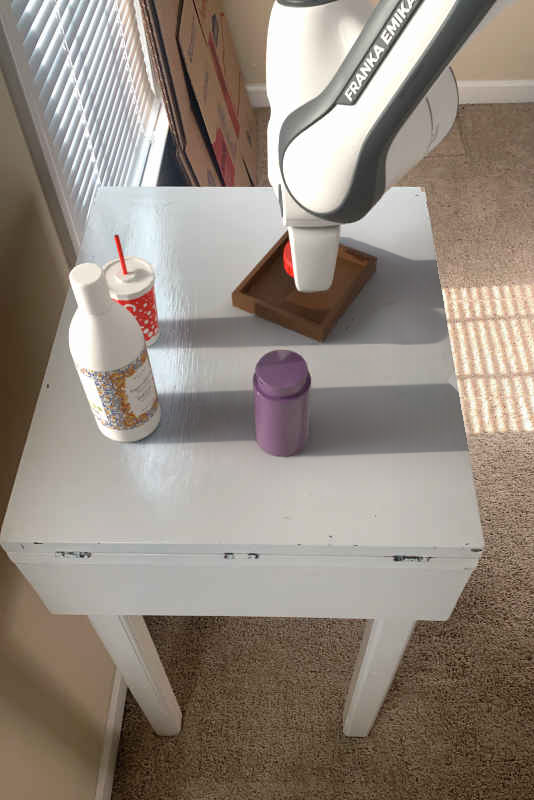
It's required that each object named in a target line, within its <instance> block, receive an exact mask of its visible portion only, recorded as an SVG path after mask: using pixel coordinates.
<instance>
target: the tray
mask: <svg viewBox="0 0 534 800" xmlns="http://www.w3.org/2000/svg"><path fill="white" fill-rule="evenodd" d="M289 241H290V238H289V231H288V229H287V230H286V231H285V232H284V233H283V234H282V235H281V237H280V238H279V239H278V240H277V241H276V242H275V243H274V244H273V245H272V247H271V248H270V249H269V250H268V252H267V253H266V254H265V255H264V256H263V257H262V258H261V259H260V261H259V262H258V263H257V264H256V265H255V266H254V267H253V268H252V269H251V270H250V272H249V273H248V274H247V275H246V276H245V277H244V278H243V279H242V281H241V282H240V283H239V285H238V286H236V288H234V290H233V291H232V292H231V304H232V305H231V306H232V307H235V308H236V309H240V310H242V311H244V312H247V313H249V314H252V315H254V316H256V317H258V318H262V319H264V320H266V321H268V322H271V323H273V324H275V325H278V326H281V327H283V328H286V329H289V330H290V331H293V332H295V333H297V334H299V335H303V336H304V337H307V338H310V339H312V340H314V341H316V342H319V343H320V344H321V343H323V342H324V341H325V339H326V338H327V337H328V335H330V333H331V332H332V330H333V328H334V327H335V326H336V325H337V323H338V322H339V321H340V319H341V318H342V316H343V315H344V313H346V311H347V310H348V308H350V306H351V304H352V303H353V301H354V300H355V299H356V298H357V296H358V295H359V293H360V292H361V291H362V290H363V288H364V287H365V286H366V284H367V283H368V282H369V280H370V279H371V277H372V276H373V275H374V273H375V272H376V270H377V265H378V257H377V256H374V255H372V254H369V253H366V252H364V251H361V250H358V249H355V248H352V247H351V246H348V245H345V244H342V243H339V246H338V253H337V259H336V265H335V270H334V276H333V281H332V284H331V286H330V288H329V289H328V290H326V291H318V292H312V293H304V292H300V291H298V289H297V287H296V284H295V278H293V277H292V276H290V275H289V274H288V273H287V271H286V270H285V268H284V261H283V257H284V249H285V246H286V244H287V243H288V242H289Z"/></svg>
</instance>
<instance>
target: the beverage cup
mask: <svg viewBox="0 0 534 800" xmlns="http://www.w3.org/2000/svg"><path fill="white" fill-rule="evenodd" d="M120 239H121V238H120V235H119V234H114V241H115V245H116V249H117V253H118V254H117V255H118V257H117V258H113V259H111V260H110V261H108V262H106V263H104V265H102V266H101V268H102V269H103V271H104V273H105V277H106V281H107V284H108V288H109V292H110V295H111V299H113V300H114V301H116V302H118V303H119V304H121V305H122V306H123V307H125V308H126V309H127V310H128V311H129V312H130V313H131V314H132V315H133V316H134V317H135V319H136V320H137V322H138V324H139V325H140V328H141V330H142V332H143V335H144V339H145V343H146V347H147V348H149V347H151V346H153V345H154V344H155V343H157V341H158V340H159V338H160V333H161V331H160V323H159V314H158V307H157V299H156V298H157V297H156V291H155V282H156V276H155V275H156V273H155V270H154V266H153V265H152V264H151V263H150V262H149V261H148V260H146V259H144V258H141V257H138V256H134V255H133V256H128V255H127V256H126V255H125V256H124V252H123V247H122V243H121V240H120Z"/></svg>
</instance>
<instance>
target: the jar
mask: <svg viewBox="0 0 534 800" xmlns="http://www.w3.org/2000/svg"><path fill="white" fill-rule="evenodd" d="M254 370H255V371H254V372H253V375H252V393H253V394H252V395H253V410H254V411H253V412H254V430H255V432H254V433H255V440H256V443H257V445H258V447H259V448H260V449H261V450H262V451H263V452H265V453H267V454H268V455H270V456H274V457H280V458H281V457H283V458H284V457H290V456H293V455H295V454H298V453H300V451H301V450H303V449H304V448H305V446H306V445H307V443H308V440H309V432H310V431H309V430H310V411H311V397H312V396H311V395H312V375H311V372H310V371H309V367H308V363H307V362H306V360H305V358H304V357H303V356H302V355H300V354H299V353H297V352H295V351H293V350H290V349H274V350H271V351H268V352H267V353H265V354H264V355H262V357H260V359H259V360H258V361H257V363H256V365H255V368H254Z"/></svg>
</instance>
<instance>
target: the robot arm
mask: <svg viewBox="0 0 534 800" xmlns="http://www.w3.org/2000/svg"><path fill="white" fill-rule="evenodd" d="M517 1H518V0H379V1H378V2H377V5H376V7H374V6H373V4H372V3H371V1H370V0H274V2H273V6H272V9H271V12H270V16H269V22H268V26H267V27H268V29H267V37H266V58H265V74H266V75H265V80H266V84H265V85H266V95H267V98H268V103H269V105H270V118H269V120H268V124H267V132H266V133H267V177H268V181H269V184H270V185H271V186H272V187H273V188H272V189H273V191H274V193H275V196H276V198H277V200H278V205H279V209H280V215H281V218H282V224H283V226H284V227H287V230H288V231H289V238H290V245H291V254H292V262H293V271H294V278H295V284H296V287H297V289H298V291H300V292H304V293H312V292H318V291H326V290H328V289H329V288H330V286H331V284H332V281H333V276H334V270H335V265H336V259H337V253H338V246H339V244H340V239H341V238H340V237H341V226H342V225H347V224H353V223H357V222H359V221H361V220H362V219H364V218H365V217H366V216H367V215H368V213H370V212H371V210H372V209H373V208H374V207H375V206H376V205H377V204H378V203H379V201H380V200H381V199H382V198H383V196H384V195H385V194H386V193H387V192H388V191H390V189H391V188H393V187H394V186H395V185H396V184H397V183H398V182H400V180H401V179H402V178H404V177H405V176H406V175H407V174H408V173H409V172H411V170H412V169H414V168H415V167H416V166H417V165H418V164H419V163H420V162H421V161H422V160H424V159H425V157H426V156H428V155H429V154H430V153H431V152H432V151H433V150H434V149H435V148H436V147H437V146H438V145H439V144H440V143H441V142H442V141H443V140H444V139H445V138H446V137H447V136H448V135H449V134H450V133H451V131H452V130H453V127H454V126H455V124H456V120H457V117H458V112H459V106H460V103H459V102H460V97H459V95H460V94H459V88H458V82H457V79H456V76H455V74H454V73H455V72H454V70H453V68H452V67H451V65H452V64H453V63H454V61H455V60H456V59H457V58H458V56H459V55H460V54H461V53H462V52H463V51H464V49H465V48H466V47H467V46H468V45H469V44H470V43H471V42H472V41H473V40H474V39H475V38H476V37H477V36H478V34H479V33H481V32H482V31H483V30H484V29H485V28H486V27H487V26H488V25H490V24H491V23H492V22H493V21H494V20H495V19H496V18H497V17H498V16H499V15H501V14H502V13H503V12H505V11H506V10H507V9H509V7H511V6H512V5H514V4H515V3H516V2H517Z"/></svg>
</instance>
